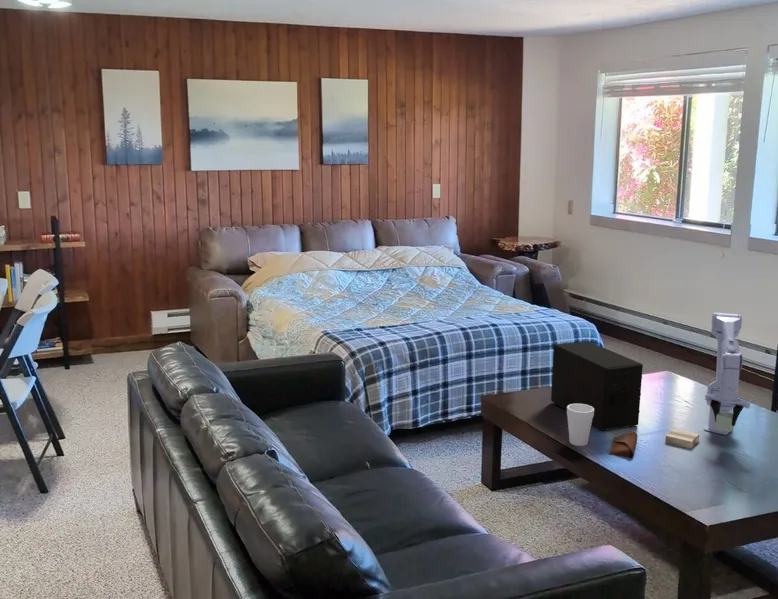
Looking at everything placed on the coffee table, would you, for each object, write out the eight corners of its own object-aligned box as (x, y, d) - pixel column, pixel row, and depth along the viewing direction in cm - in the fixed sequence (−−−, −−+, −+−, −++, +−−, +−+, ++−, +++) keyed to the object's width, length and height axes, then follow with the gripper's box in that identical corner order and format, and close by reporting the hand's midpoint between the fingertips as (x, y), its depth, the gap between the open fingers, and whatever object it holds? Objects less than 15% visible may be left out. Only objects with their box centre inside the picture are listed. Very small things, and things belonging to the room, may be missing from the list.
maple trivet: (673, 436, 292) (674, 428, 291) (698, 441, 286) (699, 434, 286) (665, 443, 285) (665, 435, 284) (690, 449, 279) (691, 441, 279)
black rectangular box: (648, 428, 298) (653, 364, 292) (604, 435, 291) (609, 370, 286) (589, 397, 332) (593, 339, 327) (549, 402, 325) (552, 344, 320)
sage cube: (719, 424, 283) (720, 411, 282) (734, 427, 280) (735, 414, 279) (715, 428, 279) (716, 415, 278) (730, 431, 276) (731, 418, 275)
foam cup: (595, 440, 286) (597, 406, 283) (587, 449, 278) (590, 414, 275) (569, 435, 290) (571, 401, 288) (561, 444, 282) (563, 409, 280)
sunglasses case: (612, 436, 290) (623, 422, 287) (629, 448, 288) (640, 434, 286) (607, 454, 273) (619, 440, 271) (625, 467, 272) (636, 453, 269)
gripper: (704, 385, 277) (700, 421, 280) (748, 393, 269) (744, 431, 272) (710, 380, 283) (706, 416, 286) (753, 388, 274) (749, 425, 277)
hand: (725, 423), depth 279 cm, fingers closed on sage cube, 5 cm apart
